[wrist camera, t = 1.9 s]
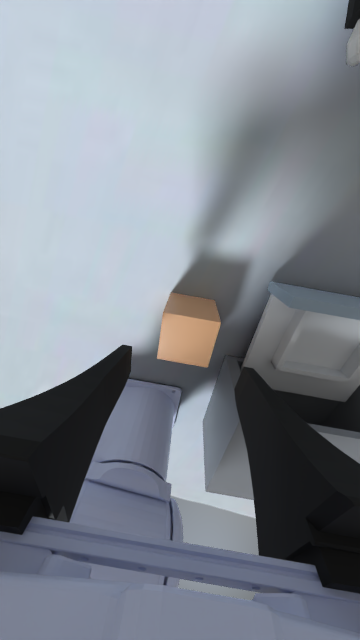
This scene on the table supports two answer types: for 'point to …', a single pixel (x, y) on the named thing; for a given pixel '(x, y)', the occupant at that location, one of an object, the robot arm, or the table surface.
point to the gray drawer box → (228, 440)
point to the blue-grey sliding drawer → (308, 342)
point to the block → (188, 330)
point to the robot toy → (353, 33)
